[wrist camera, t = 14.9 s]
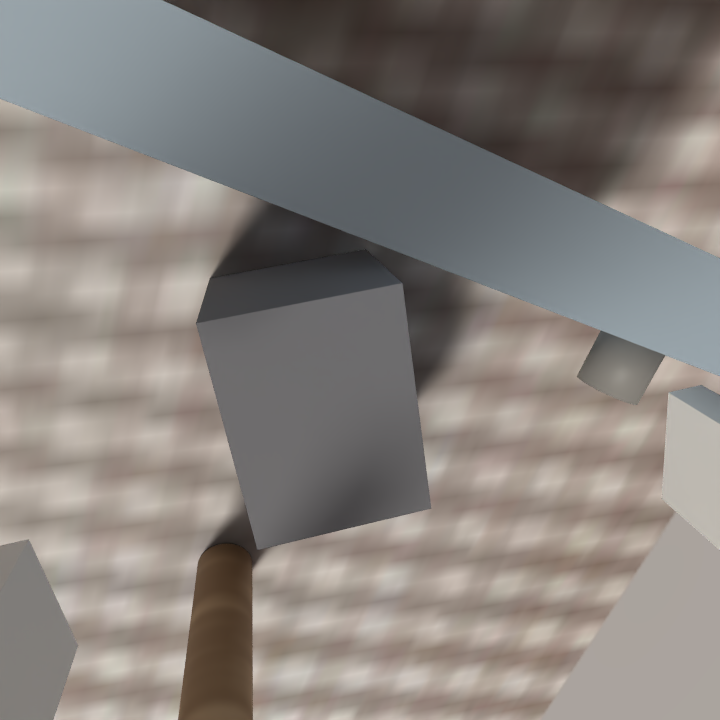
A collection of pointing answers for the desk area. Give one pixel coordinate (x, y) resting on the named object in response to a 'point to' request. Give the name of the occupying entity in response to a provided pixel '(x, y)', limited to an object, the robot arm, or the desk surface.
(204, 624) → the door frame
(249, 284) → the block
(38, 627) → the robot arm
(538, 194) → the door
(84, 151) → the desk surface
